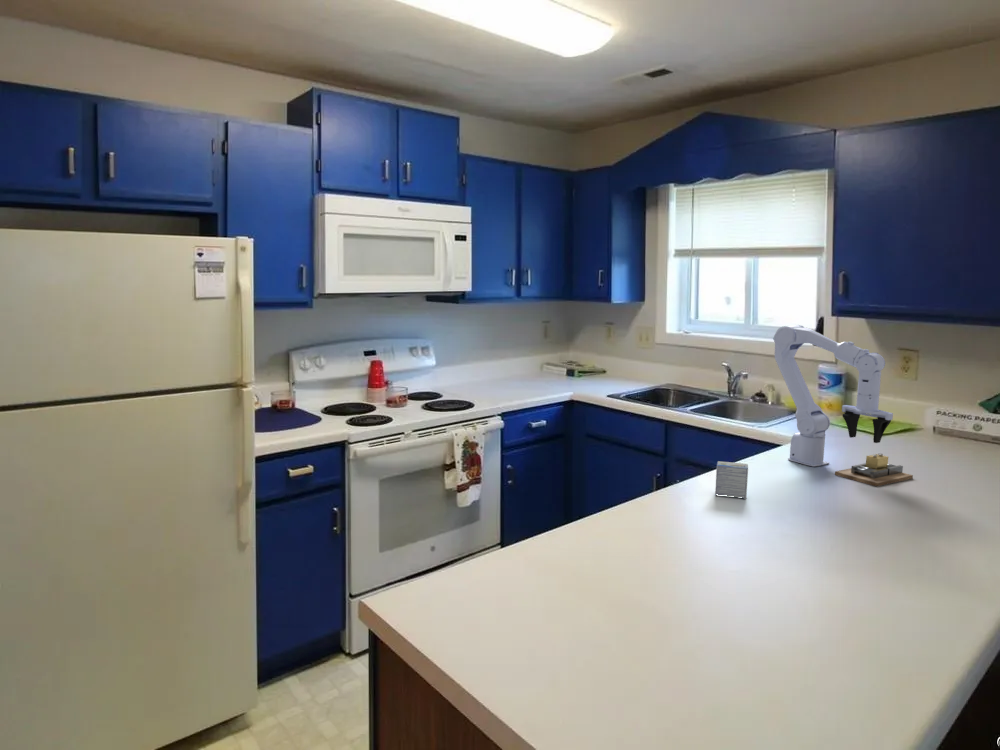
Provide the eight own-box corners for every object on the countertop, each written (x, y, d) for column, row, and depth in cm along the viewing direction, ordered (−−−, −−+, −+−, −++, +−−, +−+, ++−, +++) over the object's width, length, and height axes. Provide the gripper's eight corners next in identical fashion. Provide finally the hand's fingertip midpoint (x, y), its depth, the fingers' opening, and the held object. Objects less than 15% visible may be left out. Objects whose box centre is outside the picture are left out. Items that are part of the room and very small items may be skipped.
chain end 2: (866, 469, 205) (866, 463, 204) (879, 466, 208) (880, 460, 207) (888, 475, 199) (889, 468, 198) (902, 472, 202) (902, 466, 201)
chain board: (834, 474, 202) (834, 471, 202) (870, 467, 211) (870, 464, 210) (876, 486, 191) (877, 483, 191) (912, 478, 199) (912, 475, 199)
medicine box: (746, 495, 183) (748, 463, 182) (746, 500, 179) (748, 467, 177) (715, 491, 185) (717, 460, 184) (714, 496, 181) (716, 464, 180)
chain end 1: (851, 472, 201) (851, 466, 201) (865, 469, 204) (865, 463, 204) (873, 478, 195) (874, 472, 195) (887, 475, 198) (888, 469, 198)
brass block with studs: (865, 472, 202) (866, 453, 201) (875, 470, 204) (877, 452, 203) (876, 475, 198) (878, 456, 198) (886, 473, 201) (888, 454, 200)
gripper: (836, 391, 205) (833, 436, 206) (883, 399, 192) (879, 446, 194) (851, 390, 208) (848, 433, 210) (898, 397, 195) (894, 443, 197)
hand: (864, 439), depth 202 cm, fingers open, 7 cm apart
